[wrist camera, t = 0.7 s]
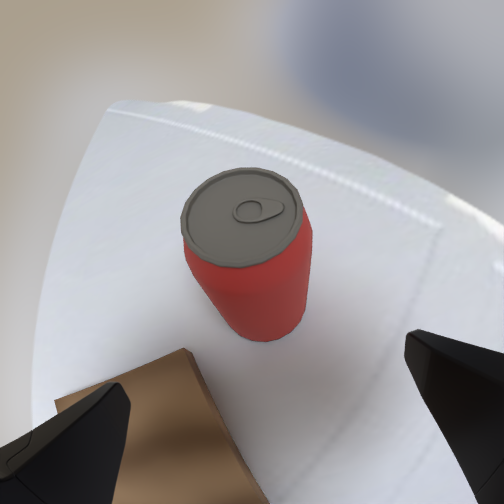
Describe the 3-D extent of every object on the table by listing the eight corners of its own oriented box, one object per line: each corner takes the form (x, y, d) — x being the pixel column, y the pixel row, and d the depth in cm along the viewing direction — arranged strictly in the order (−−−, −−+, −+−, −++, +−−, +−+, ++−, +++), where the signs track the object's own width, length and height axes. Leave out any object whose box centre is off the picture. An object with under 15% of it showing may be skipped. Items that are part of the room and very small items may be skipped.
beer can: (309, 339, 21) (327, 269, 11) (224, 345, 21) (160, 282, 11) (301, 263, 24) (303, 153, 14) (224, 270, 25) (178, 168, 15)
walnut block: (271, 502, 15) (268, 513, 13) (126, 533, 13) (112, 540, 11) (193, 353, 22) (183, 347, 20) (71, 403, 20) (54, 400, 18)
